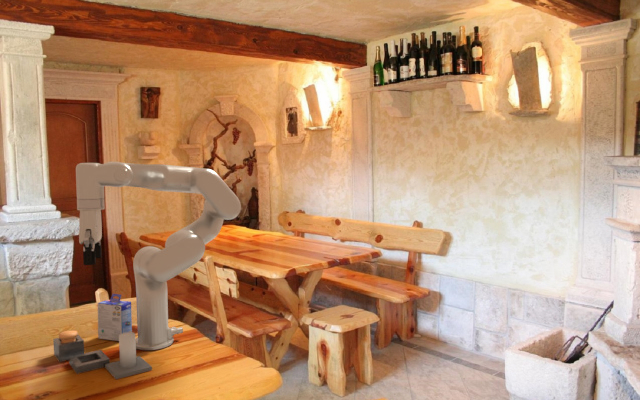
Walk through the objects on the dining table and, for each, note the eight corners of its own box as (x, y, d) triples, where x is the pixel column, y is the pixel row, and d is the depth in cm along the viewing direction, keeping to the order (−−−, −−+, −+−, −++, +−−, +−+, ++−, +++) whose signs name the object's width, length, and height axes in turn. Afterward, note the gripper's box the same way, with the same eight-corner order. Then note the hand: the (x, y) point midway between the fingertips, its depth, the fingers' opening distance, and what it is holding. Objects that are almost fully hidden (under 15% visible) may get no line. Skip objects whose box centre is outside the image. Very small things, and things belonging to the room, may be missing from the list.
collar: (100, 356, 163) (100, 349, 163) (109, 365, 156) (109, 359, 156) (69, 363, 158) (68, 356, 158) (77, 373, 151) (76, 366, 150)
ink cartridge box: (133, 336, 180) (131, 294, 179) (122, 342, 175) (120, 298, 173) (109, 333, 183) (107, 292, 182) (97, 339, 178) (95, 296, 177)
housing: (78, 349, 169) (77, 334, 168) (84, 356, 163) (83, 340, 163) (54, 354, 164) (53, 338, 164) (59, 361, 159) (58, 345, 158)
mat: (139, 359, 161) (139, 355, 161) (151, 370, 153) (151, 366, 153) (105, 367, 155) (105, 364, 155) (115, 379, 147) (115, 375, 147)
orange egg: (75, 346, 167) (75, 329, 167) (80, 351, 163) (79, 333, 163) (57, 350, 164) (56, 332, 164) (61, 355, 160) (60, 337, 159)
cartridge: (122, 362, 156) (120, 332, 155) (137, 361, 157) (136, 331, 156) (118, 368, 152) (117, 337, 151) (134, 367, 152) (133, 337, 151)
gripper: (83, 201, 167) (85, 256, 168) (70, 207, 150) (72, 268, 152) (108, 201, 168) (110, 255, 170) (99, 207, 152) (101, 267, 153)
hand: (92, 261), depth 161 cm, fingers open, 9 cm apart
